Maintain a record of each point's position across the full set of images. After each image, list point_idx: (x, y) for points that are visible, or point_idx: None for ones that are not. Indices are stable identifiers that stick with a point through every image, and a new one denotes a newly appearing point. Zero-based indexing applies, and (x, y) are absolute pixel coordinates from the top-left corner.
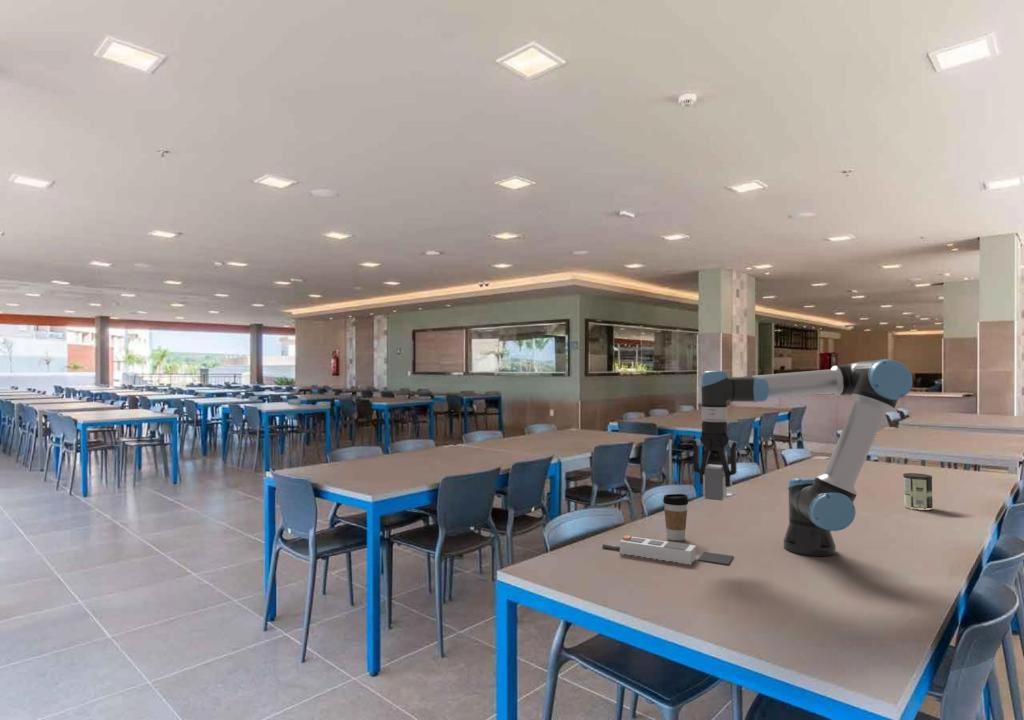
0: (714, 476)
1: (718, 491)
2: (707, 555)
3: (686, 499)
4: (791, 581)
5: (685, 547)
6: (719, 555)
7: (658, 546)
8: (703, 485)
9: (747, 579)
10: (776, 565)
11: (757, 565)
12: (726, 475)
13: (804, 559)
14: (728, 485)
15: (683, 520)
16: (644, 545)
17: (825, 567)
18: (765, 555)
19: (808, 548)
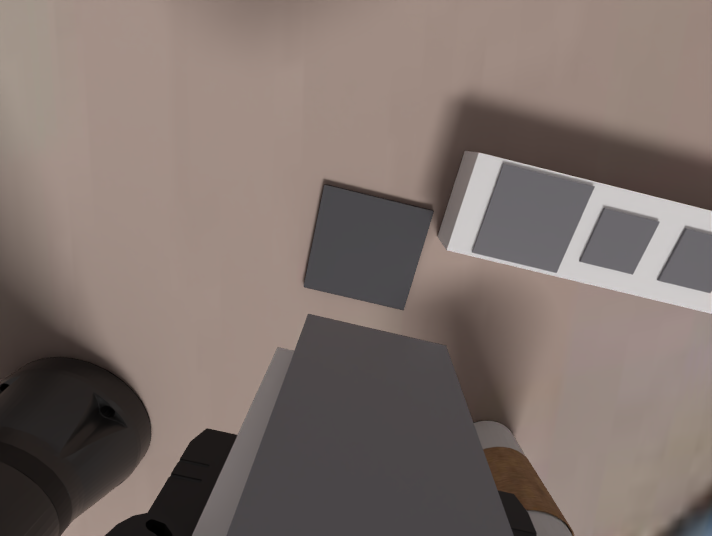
0: (362, 522)
1: (327, 364)
2: (394, 269)
3: None
4: (110, 50)
5: (496, 198)
6: (351, 280)
7: (614, 192)
8: None
9: (262, 22)
10: (166, 231)
11: (227, 213)
12: (146, 533)
13: (86, 320)
14: (203, 439)
15: None
16: (673, 201)
17: (19, 252)
18: (203, 332)
19: (58, 372)
